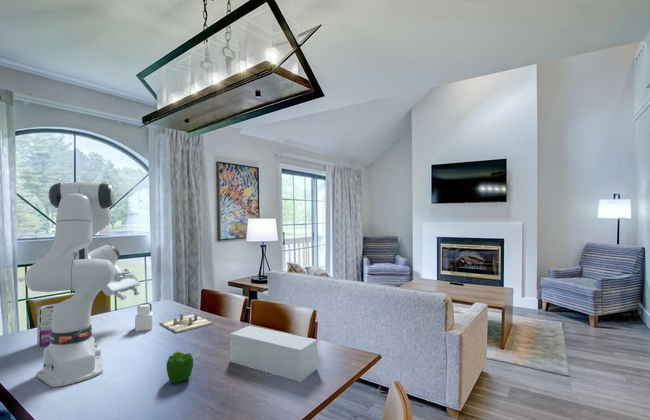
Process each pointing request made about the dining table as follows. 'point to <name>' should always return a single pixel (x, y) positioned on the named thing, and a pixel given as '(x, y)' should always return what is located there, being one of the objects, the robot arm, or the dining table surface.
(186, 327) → the stub cradle
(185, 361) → the bell pepper
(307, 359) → the stack of papers
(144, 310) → the medicine bottle
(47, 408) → the dining table surface
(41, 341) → the candy bar box
